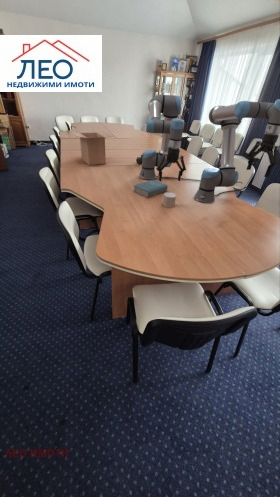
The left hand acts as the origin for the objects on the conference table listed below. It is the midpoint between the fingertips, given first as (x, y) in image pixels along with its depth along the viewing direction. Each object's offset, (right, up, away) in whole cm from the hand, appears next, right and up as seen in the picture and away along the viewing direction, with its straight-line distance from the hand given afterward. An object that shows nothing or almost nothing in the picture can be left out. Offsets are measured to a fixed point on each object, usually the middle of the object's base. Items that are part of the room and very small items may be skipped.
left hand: (169, 180), depth 151 cm
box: (-70, +47, +86) cm, 120 cm away
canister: (0, -15, +9) cm, 17 cm away
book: (-12, 0, +27) cm, 30 cm away
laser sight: (-13, +45, +89) cm, 100 cm away
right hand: (+50, -1, -19) cm, 53 cm away
